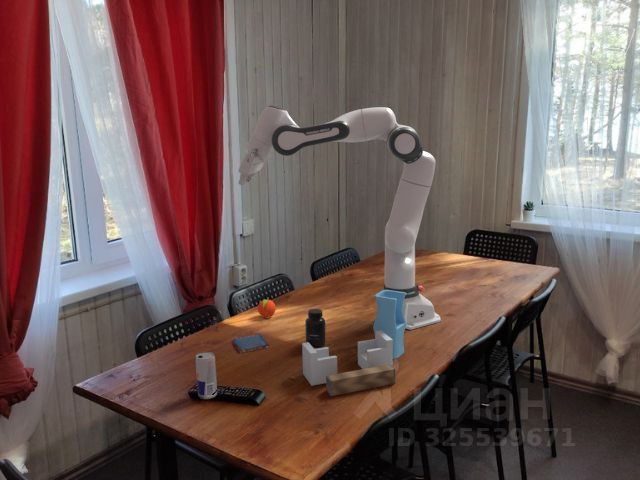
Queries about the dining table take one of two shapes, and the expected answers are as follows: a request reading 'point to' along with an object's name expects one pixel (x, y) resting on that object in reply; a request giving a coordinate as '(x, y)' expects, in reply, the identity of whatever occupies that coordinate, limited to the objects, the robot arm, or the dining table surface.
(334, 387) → the rail
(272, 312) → the clementine
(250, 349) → the woven mat
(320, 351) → the post
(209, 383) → the energy drink
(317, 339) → the supplement bottle
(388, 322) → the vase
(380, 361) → the post
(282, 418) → the dining table surface
